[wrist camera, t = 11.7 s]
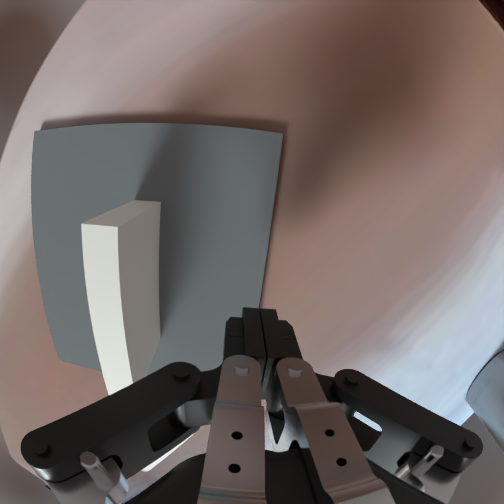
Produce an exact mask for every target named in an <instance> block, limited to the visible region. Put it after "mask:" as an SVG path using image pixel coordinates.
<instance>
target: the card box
mask: <svg viewBox="0 0 504 504" xmlns="http://www.w3.org/2000/svg"><path fill="white" fill-rule="evenodd" d="M160 210H161V202H156V201H142V200H133V201H131V202H129V203H126V204H124V205H122V206H119V207H117V208H115V209H112V210H110V211H108V212H106V213H103V214H101V215H99V216H97V217H95V218H93V219H90V220H88V221H86V222H84V223H82V224H81V228H82V248H83V262H84V272H85V282H86V290H87V297H88V304H89V311H90V317H91V322H92V328H93V333H94V338H95V343H96V348H97V352H98V356H99V361H100V365H101V369H102V373H103V376H104V380H105V384H106V387H107V391H108V394H109V395H111V394H113V393H115V392H117V391H119V390H121V389H123V388H125V387H127V386H129V385H131V384H133V383H134V382H136V381H138V380H140V379H142V378H144V377H146V376H147V373H148V370H149V367H150V365H151V362H152V359H153V357H154V354H155V351H156V349H157V346H158V344H159V341H160V338H161V334H160V312H159V233H160Z"/></svg>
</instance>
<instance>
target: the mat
mask: <svg viewBox="0 0 504 504" xmlns="http://www.w3.org/2000/svg"><path fill="white" fill-rule="evenodd" d="M282 139H283V133H276V132H269V131H262V130H254V129H246V128H236V127H226V126H214V125H200V124H180V123H115V124H96V125H82V126H72V127H62V128H54V129H46V130H39V131H34V141H33V154H32V175H31V203H32V225H33V237H34V247H35V256H36V263H37V270H38V277H39V282H40V288H41V293H42V298H43V303H44V308H45V312H46V316H47V320H48V324H49V328H50V332H51V335H52V339H53V342H54V346H55V349H56V352H57V355H58V358H59V360H62V361H65V362H69V363H72V364H75V365H79V366H82V367H86V368H89V369H93V370H97V371H101V372H102V369H101V365H100V361H99V356H98V352H97V348H96V343H95V338H94V333H93V328H92V322H91V317H90V311H89V304H88V297H87V290H86V282H85V272H84V262H83V248H82V228H81V224H82V223H84V222H86V221H88V220H90V219H93V218H95V217H97V216H99V215H101V214H103V213H106V212H108V211H110V210H112V209H115V208H117V207H119V206H122V205H124V204H126V203H129V202H131V201H133V200H142V201H156V202H161V210H160V233H159V312H160V334H161V338H160V341H159V344H158V346H157V349H156V351H155V354H154V357H153V359H152V362H151V365H150V367H149V370H148V373H147V376H148V375H150V374H151V373H153V372H155V371H157V370H159V369H161V368H162V367H164V366H166V365H168V364H170V363H173V362H187V363H191V364H193V365H195V366H196V367H197V368H198V369H199V370H200V371H208V370H212V369H215V368H217V367H219V366H220V365H221V364H222V362H223V347H224V336H225V325H226V322H227V320H228V319H229V318H230V317H241V315H242V309H243V307H250V308H259V303H260V296H261V289H262V283H263V276H264V269H265V263H266V256H267V249H268V242H269V235H270V228H271V221H272V214H273V206H274V199H275V192H276V185H277V177H278V170H279V162H280V155H281V147H282Z"/></svg>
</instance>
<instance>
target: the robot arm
mask: <svg viewBox="0 0 504 504" xmlns="http://www.w3.org/2000/svg"><path fill="white" fill-rule="evenodd" d="M296 340H297V339H296V336H295V333H294V330H293V327H292V326H291V325H290V324H289V323H288V322H287V321H286V320H278V316H277V312H276V310H275V309H263V308H260V309H259V308H250V307H243V309H242V315H241V317H230V318H229V319H228V320H227V322H226V325H225V336H224V347H223V362H222V364H221V365H220V366H219V367H217V368H215V369H212V370H208V371H200V370H199V369H198V368H197V367H196V366H195V365H193V364H191V363H187V362H173V363H170V364H168V365H166V366H164V367H162V368H161V369H159V370H157V371H155V372H153V373H151V374H150V375H148V376H146V377H144V378H142V379H140V380H138V381H136V382H134V383H133V384H131V385H129V386H127V387H125V388H123V389H121V390H119V391H117V392H115V393H113V394H111V395H109V396H107V397H105V398H103V399H101V400H99V401H97V402H95V403H93V404H91V405H89V406H87V407H84V408H82V409H80V410H78V411H76V412H74V413H72V414H70V415H67V416H65V417H63V418H61V419H59V420H56V421H54V422H52V423H49V424H47V425H45V426H43V427H40V428H38V429H36V430H33V431H31V432H29V433H28V434H26V435H25V437H24V438H23V440H22V442H21V453H22V455H23V458H24V459H25V460H26V462H27V463H28V464H29V465H30V466H31V467H32V468H33V469H34V470H35V472H36V473H37V475H38V476H39V477H40V478H41V479H42V480H43V481H44V482H45V483H46V484H47V485H48V486H49V487H50V488H51V490H52V491H53V493H54V494H55V496H56V497H57V499H58V500H59V502H60V503H61V504H118V503H119V502H120V501H121V500H122V499H123V498H125V496H126V495H127V493H128V483H127V480H126V479H128V478H130V477H131V476H133V475H134V474H136V473H138V472H139V471H141V470H142V469H144V468H145V467H147V466H148V465H150V464H151V463H153V462H154V461H156V460H157V459H159V458H160V457H162V456H163V455H165V454H166V453H168V452H169V451H170V450H172V449H173V448H175V447H176V446H177V445H179V444H180V443H182V442H183V441H184V440H186V439H187V438H188V437H190V436H191V435H192V434H194V433H195V432H196V431H197V430H199V428H200V426H203V425H209V424H211V427H210V433H209V439H208V445H207V451H206V453H204V454H200V455H197V456H194V457H191V458H189V459H187V460H185V461H183V462H181V463H180V464H178V465H177V466H176V467H174V468H173V469H172V470H171V471H169V472H168V473H167V474H165V475H164V476H163V477H161V478H160V479H159V480H157V481H156V482H155V483H153V484H152V485H151V486H149V487H148V488H147V489H145V490H144V491H142V492H141V493H140V494H138V495H137V496H135V497H134V498H132V499H131V500H129V501H128V502H126V503H125V504H448V503H449V501H450V498H451V497H452V495H453V492H454V490H455V488H456V485H457V483H458V481H459V478H460V476H461V473H462V472H463V471H464V470H465V469H466V468H467V467H468V466H469V465H471V463H472V462H474V461H475V459H477V458H478V457H479V456H480V454H481V453H482V450H483V444H482V442H481V439H480V438H479V436H477V435H476V434H475V433H473V432H471V431H469V430H467V429H465V428H463V427H461V426H459V425H457V424H455V423H453V422H451V421H449V420H447V419H445V418H443V417H441V416H439V415H437V414H435V413H433V412H431V411H430V410H428V409H426V408H424V407H422V406H420V405H418V404H416V403H414V402H413V401H411V400H409V399H407V398H405V397H403V396H401V395H400V394H398V393H396V392H394V391H392V390H391V389H389V388H387V387H385V386H383V385H382V384H380V383H378V382H376V381H375V380H373V379H371V378H369V377H368V376H366V375H364V374H362V373H361V372H359V371H356V370H353V369H343V370H340V371H338V372H337V373H336V374H335V376H334V377H329V376H325V375H320V374H317V373H315V372H314V370H313V368H312V366H311V365H310V364H309V363H308V362H306V361H304V360H303V358H302V355H301V352H300V349H299V346H298V342H297V341H296ZM261 399H266V402H267V406H266V410H265V418H266V422H267V427H268V431H269V436H270V440H271V444H272V449H273V451H269V450H265V423H264V407H263V406H261ZM466 401H467V402H468V404H469V405H470V407H471V408H472V409H473V411H474V412H475V413H476V415H477V416H478V418H479V419H480V420H481V422H482V423H483V425H484V426H485V427H486V429H487V430H488V432H489V433H490V435H491V436H492V437H493V439H494V440H495V442H496V443H497V445H498V446H499V448H500V449H501V451H502V452H503V454H504V351H502V352H500V353H499V354H498V355H497V356H495V357H494V358H493V359H492V360H491V361H490V362H489V363H488V364H487V365H486V367H485V368H484V369H483V370H482V371H481V372H480V374H479V375H478V376H477V378H476V379H475V381H474V382H473V384H472V385H471V387H470V389H469V391H468V393H467V397H466ZM356 411H357V412H359V413H360V414H362V415H364V416H365V417H367V418H369V419H370V420H372V421H374V422H375V423H377V424H378V425H380V427H381V428H382V431H377V430H375V429H373V428H372V427H370V426H368V425H367V424H365V423H363V422H362V421H360V420H359V419H357V418H355V417H354V416H353V415H354V413H355V412H356Z"/></svg>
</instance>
